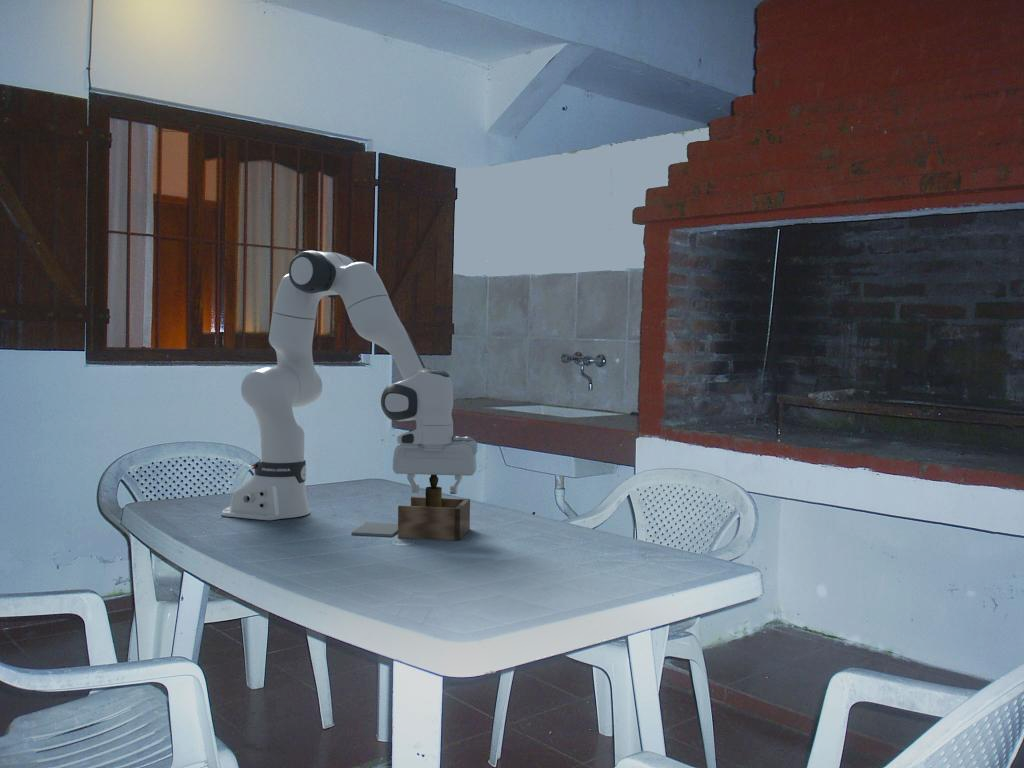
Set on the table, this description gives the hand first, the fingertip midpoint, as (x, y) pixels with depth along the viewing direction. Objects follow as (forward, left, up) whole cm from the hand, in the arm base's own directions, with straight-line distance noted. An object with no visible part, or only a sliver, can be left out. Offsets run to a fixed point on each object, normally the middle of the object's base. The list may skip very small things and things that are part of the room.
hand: (434, 493), depth 214 cm
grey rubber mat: (-14, 0, -10) cm, 17 cm away
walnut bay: (0, 0, -10) cm, 10 cm away
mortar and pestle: (0, 0, -10) cm, 10 cm away
